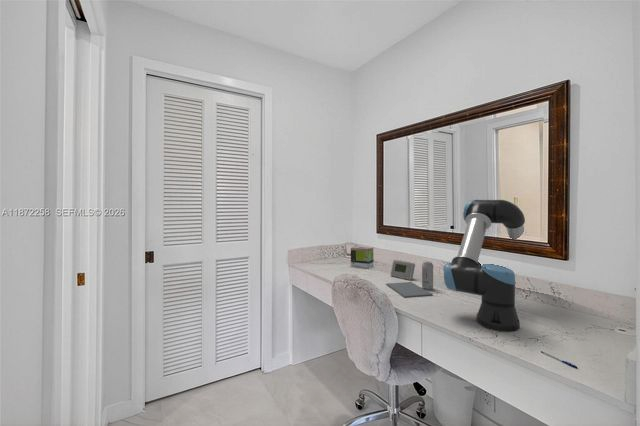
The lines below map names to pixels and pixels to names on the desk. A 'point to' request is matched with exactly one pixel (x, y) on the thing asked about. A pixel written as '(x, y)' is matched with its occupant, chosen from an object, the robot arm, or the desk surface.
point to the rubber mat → (408, 289)
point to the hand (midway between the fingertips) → (443, 268)
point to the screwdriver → (560, 360)
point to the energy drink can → (427, 275)
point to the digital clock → (402, 269)
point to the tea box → (362, 257)
